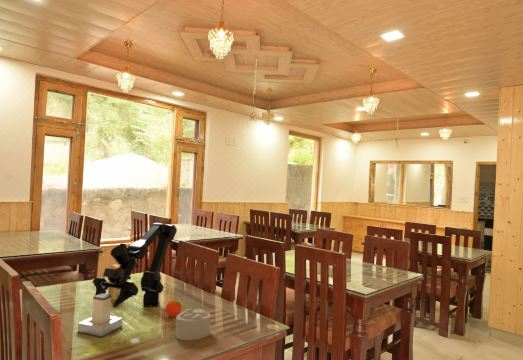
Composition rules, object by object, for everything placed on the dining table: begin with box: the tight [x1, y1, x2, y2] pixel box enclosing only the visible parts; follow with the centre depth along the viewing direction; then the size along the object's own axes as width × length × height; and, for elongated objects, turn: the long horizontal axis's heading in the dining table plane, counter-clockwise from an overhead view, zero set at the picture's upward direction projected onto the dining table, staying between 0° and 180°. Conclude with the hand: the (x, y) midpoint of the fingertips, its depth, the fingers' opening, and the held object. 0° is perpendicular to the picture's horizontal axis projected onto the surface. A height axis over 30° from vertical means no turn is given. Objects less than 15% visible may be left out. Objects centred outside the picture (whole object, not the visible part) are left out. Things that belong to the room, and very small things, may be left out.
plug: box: [91, 293, 112, 325], centre depth 136 cm, size 4×4×12 cm
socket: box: [77, 315, 123, 338], centre depth 136 cm, size 11×11×4 cm
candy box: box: [107, 263, 121, 301], centre depth 174 cm, size 9×4×15 cm, turn 44°
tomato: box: [165, 299, 184, 318], centre depth 153 cm, size 8×7×7 cm
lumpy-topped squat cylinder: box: [174, 308, 212, 341], centre depth 136 cm, size 10×13×9 cm
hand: (103, 305), depth 137 cm, fingers open, 9 cm apart
